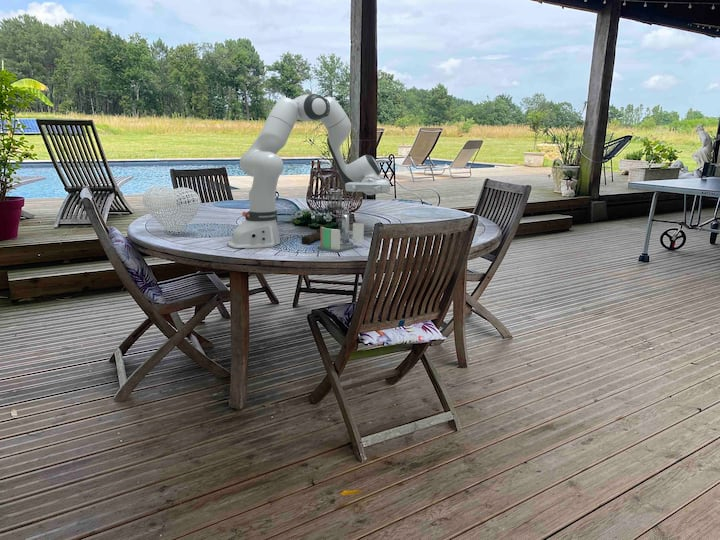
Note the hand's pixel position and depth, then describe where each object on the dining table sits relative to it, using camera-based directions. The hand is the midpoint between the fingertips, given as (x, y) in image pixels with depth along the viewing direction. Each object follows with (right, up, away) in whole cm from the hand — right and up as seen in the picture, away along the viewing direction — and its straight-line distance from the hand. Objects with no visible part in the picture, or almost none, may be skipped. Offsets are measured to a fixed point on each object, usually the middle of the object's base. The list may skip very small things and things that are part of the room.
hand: (364, 189), depth 221 cm
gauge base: (-12, -26, -9) cm, 30 cm away
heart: (-89, -19, +15) cm, 92 cm away
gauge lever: (-6, -25, -12) cm, 28 cm away
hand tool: (-23, -23, +6) cm, 32 cm away
